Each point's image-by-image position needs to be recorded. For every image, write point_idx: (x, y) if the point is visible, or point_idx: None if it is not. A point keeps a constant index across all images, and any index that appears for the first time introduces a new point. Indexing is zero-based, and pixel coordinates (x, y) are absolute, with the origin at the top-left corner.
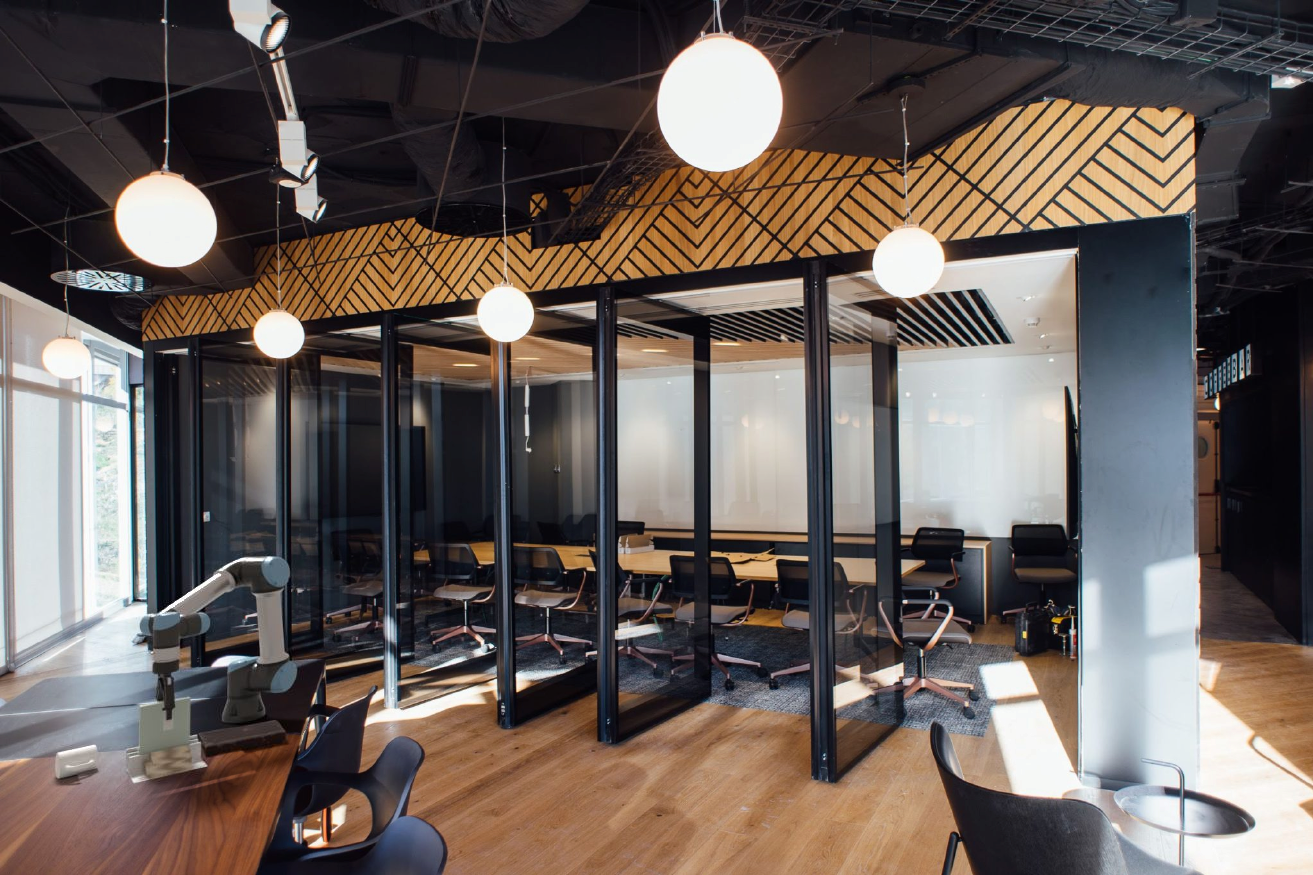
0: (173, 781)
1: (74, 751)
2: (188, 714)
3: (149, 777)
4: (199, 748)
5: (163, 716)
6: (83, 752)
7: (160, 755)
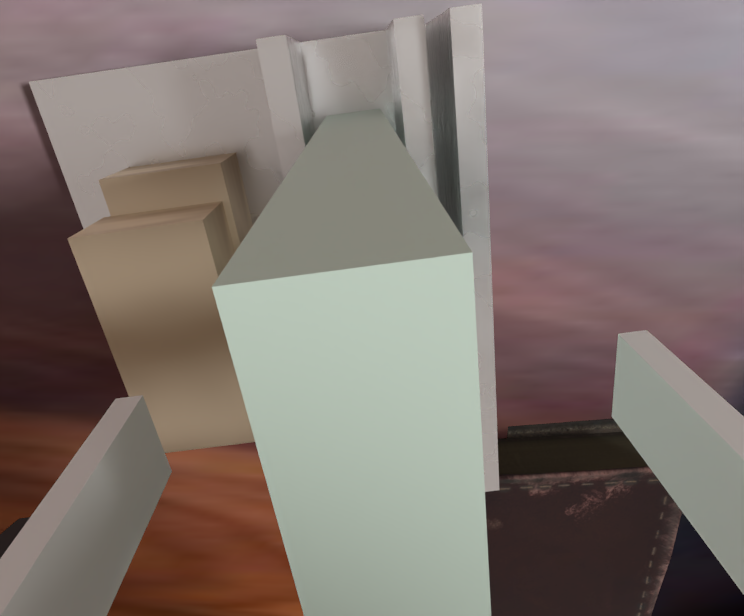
0: (38, 296)
1: None
2: None
3: None
4: None
5: (54, 524)
6: None
7: (87, 282)
